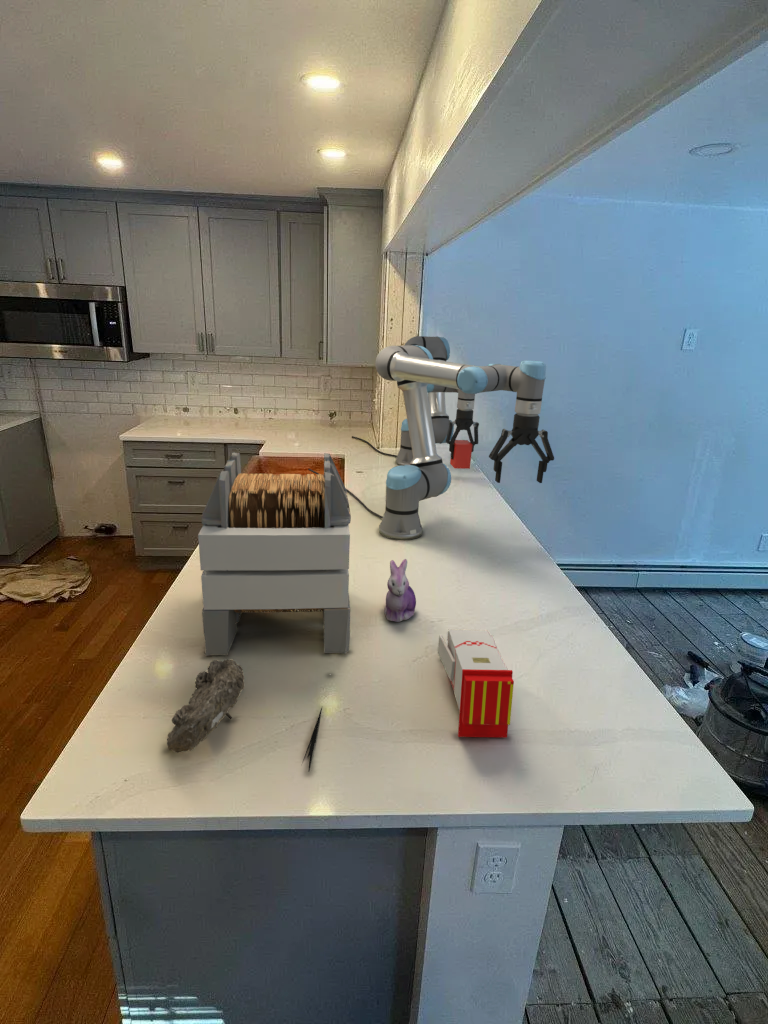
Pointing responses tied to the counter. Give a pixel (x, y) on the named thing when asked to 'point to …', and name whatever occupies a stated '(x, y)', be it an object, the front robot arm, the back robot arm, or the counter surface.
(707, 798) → the counter surface
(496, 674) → the toy
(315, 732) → the feather
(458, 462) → the block
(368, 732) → the counter surface
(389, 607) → the figurine
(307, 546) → the record crate stand
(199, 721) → the grey elongated lump
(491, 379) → the front robot arm
